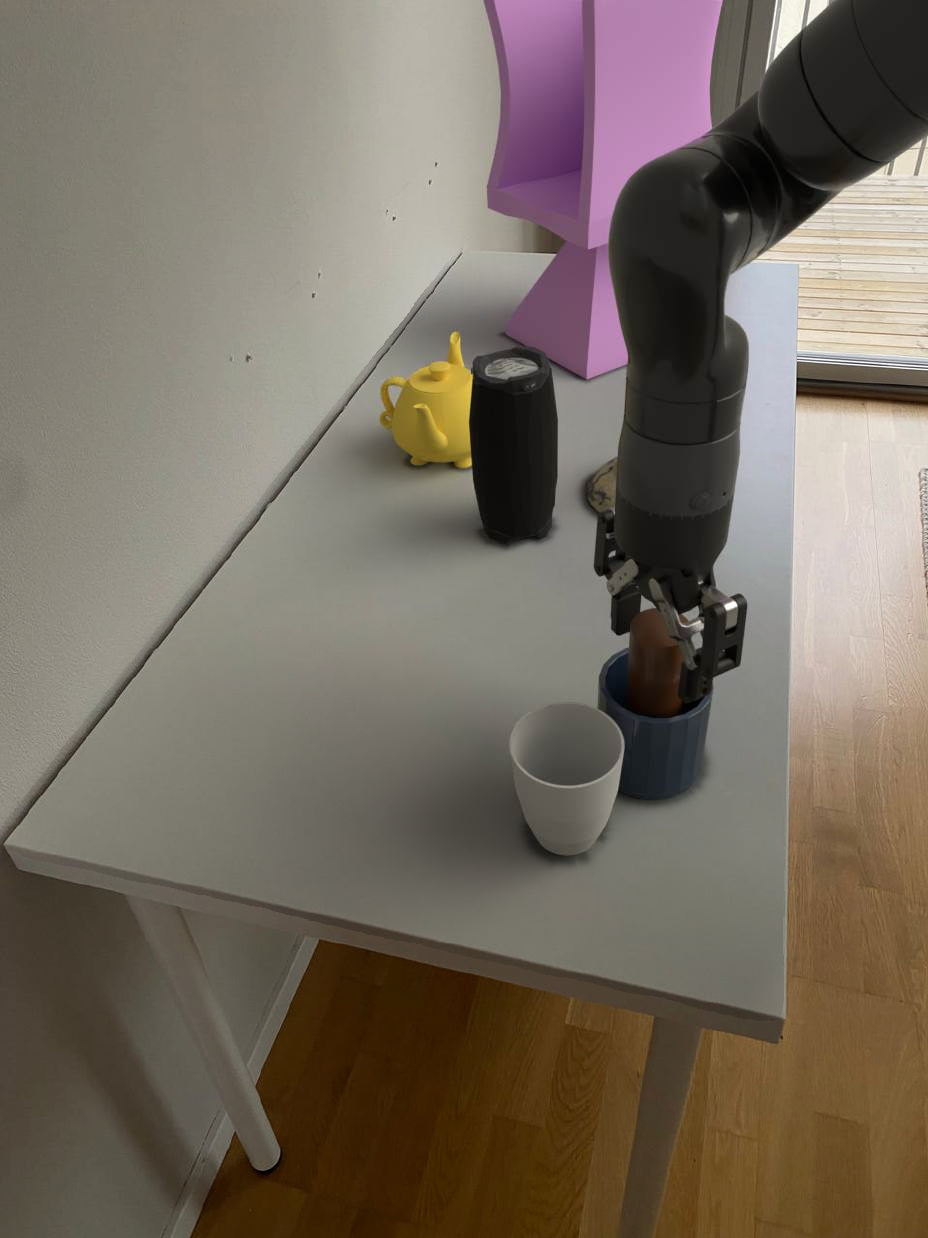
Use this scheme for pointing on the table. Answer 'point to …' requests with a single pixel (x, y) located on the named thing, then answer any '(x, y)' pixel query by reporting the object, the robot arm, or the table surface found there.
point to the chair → (589, 144)
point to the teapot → (433, 411)
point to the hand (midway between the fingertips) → (657, 662)
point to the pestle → (653, 667)
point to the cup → (566, 773)
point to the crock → (654, 738)
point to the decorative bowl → (603, 486)
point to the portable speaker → (514, 442)
